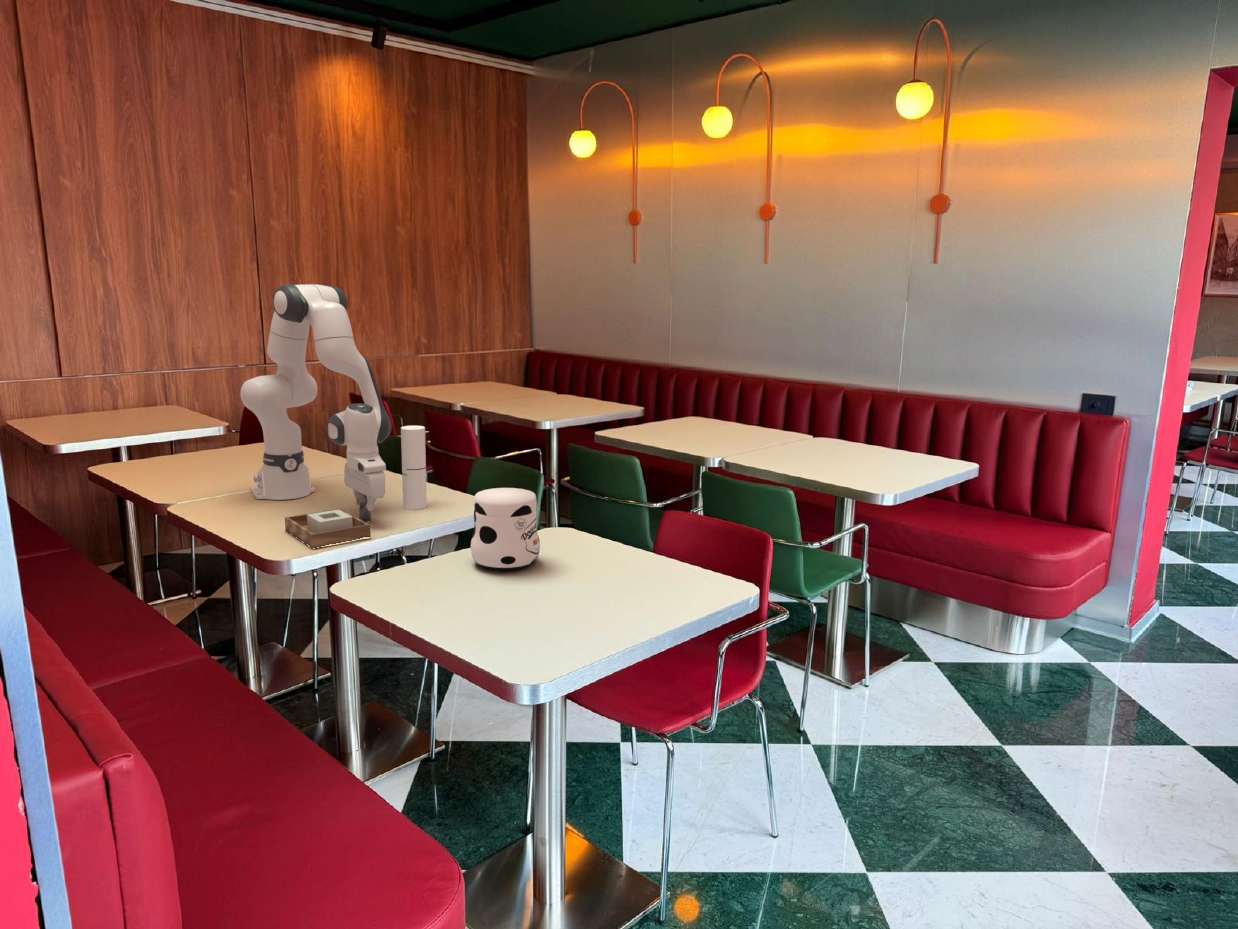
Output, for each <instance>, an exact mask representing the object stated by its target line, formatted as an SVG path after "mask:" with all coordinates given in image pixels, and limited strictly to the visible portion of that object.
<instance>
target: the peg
mask: <svg viewBox="0 0 1238 929" xmlns="http://www.w3.org/2000/svg"><path fill="white" fill-rule="evenodd" d="M358 498H359V505H358V518H359V519H360V520H362V521H364V522H366V523H368V522H367V521H370V520H371V521H372V516H371V511H372V510H371V511H369V510H367V509H366V504H367V502H368V499H367V496H366V495H364V494H362V493H360V492H358ZM371 521H370V522H371Z"/></svg>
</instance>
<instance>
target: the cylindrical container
mask: <svg viewBox="0 0 1238 929" xmlns="http://www.w3.org/2000/svg"><path fill="white" fill-rule="evenodd" d="M400 436H401V438H400V439H401V440H400V442H401V443H400V444H401V472H402V474H401V476H402V477H401V478H402V480H401V482H402V504H403V505H402V507H403V509H405V510H412V511H414V510H417V511H418V510H419V511H420V510H424V509H426V508H428V507H427V506H428V505H427V504H428V503H427V501H428V500H427V498H428V497H427V464H426V463H427V462H426V461H427V458H426V456H427V455H426V453H427V452H426V427H425V426H423V425H404V426H401V427H400Z"/></svg>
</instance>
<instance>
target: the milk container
mask: <svg viewBox="0 0 1238 929" xmlns="http://www.w3.org/2000/svg"><path fill="white" fill-rule="evenodd" d="M473 499H474V500H473V507H474V511H473V519H474V520H473V521H474V522H473V523H474V524H473V526H474V528H473V533H472V536H471V539H470V540H471V541H470V551H471V557H472V560H473V561H474V562H475V564H477V565H479V566H480V567H482V568H485V569H489V570H497V571H511V570H519V569H523V568H528V567H529V566H530V565H533V564H535V563H536V561H537V560H538V558H539V555H540V550H541V541H540V537H539V534H538V528H537V527H538V526H537V516H538V514H537V513H538V511H537V508H538V507H537V506H538V503H537V495H536V493H535V492H533V491H531V490H529V489H524V488H516V487H496V488H488V489H483V490H481V491H478V492H476V494H474V498H473Z"/></svg>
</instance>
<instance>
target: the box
mask: <svg viewBox="0 0 1238 929" xmlns="http://www.w3.org/2000/svg"><path fill="white" fill-rule="evenodd" d="M333 510H341V511H343V512H344V513H346V514H348V515H350V516H352V522H353V527H349V528H344V529H338V530H332V531H326V532H320V533H315V534H314V533H312V532H311V531H309V530H308V524H307V514H308V513H305V514H304V513H303V514H298V515H297V514H296V515H292V516H287V517H286V516H285V517H284V527H285V528H284V529H285V532H286V531H287V532H288V534H289V535H290V534H292V535H293V536H294V538H295V537H297V538H298V539H299V540H301V541H303V542H304V543H305V544H308V545H309V546H310V547H311V548H317V547H321V546H325V545H329V544H336V543H341V542H346V541H352V540H356V539H360V538H363V537H371V535H372V534H371V533H372V532H371V524H369V522H364V521H362V520H360V519H359V517H357V516H354V515H353V514H352V513H349V512H348V511H345V510H344V509H342V508H336V509H330V510H324V511H317V512H310V513H309V514H314V513H320V512H327V511H333ZM287 532H286V533H287ZM292 535H291V536H292ZM293 536H292V537H293ZM298 539H297V540H298ZM299 540H298V541H299ZM301 541H300V542H301ZM304 543H303V544H304ZM305 544H304V545H305ZM310 547H309V548H310ZM311 548H310V549H311Z"/></svg>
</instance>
